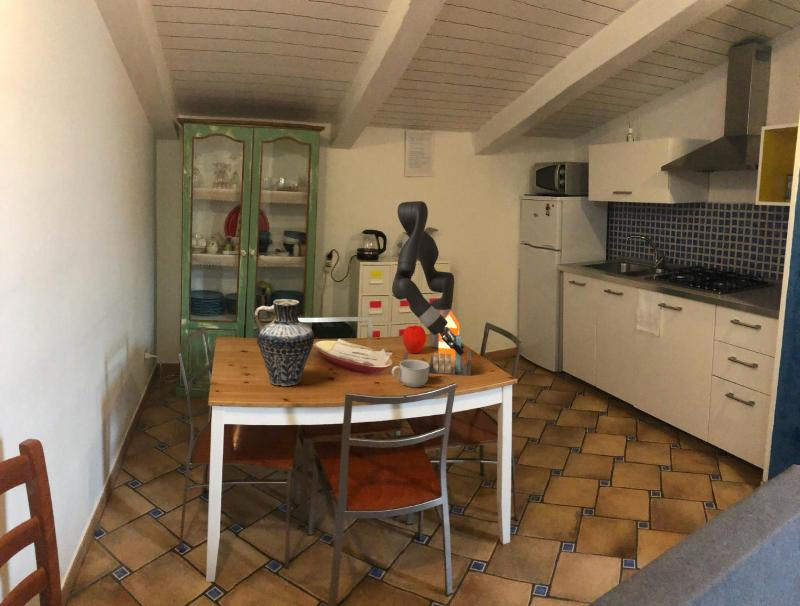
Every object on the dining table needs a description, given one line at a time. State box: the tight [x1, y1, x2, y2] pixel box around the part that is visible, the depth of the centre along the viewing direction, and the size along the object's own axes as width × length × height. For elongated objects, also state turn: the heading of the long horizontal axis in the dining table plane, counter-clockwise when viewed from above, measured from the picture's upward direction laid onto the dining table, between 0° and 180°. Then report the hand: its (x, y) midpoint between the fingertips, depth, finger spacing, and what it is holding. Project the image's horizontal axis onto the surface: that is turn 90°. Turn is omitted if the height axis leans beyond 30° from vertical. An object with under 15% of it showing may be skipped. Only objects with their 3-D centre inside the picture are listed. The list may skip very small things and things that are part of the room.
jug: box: [253, 298, 315, 387], centre depth 236 cm, size 21×19×30 cm
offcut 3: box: [445, 353, 452, 373], centre depth 258 cm, size 2×10×5 cm, turn 175°
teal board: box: [454, 334, 462, 372], centre depth 257 cm, size 2×6×13 cm, turn 175°
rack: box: [401, 350, 472, 377], centre depth 258 cm, size 26×14×7 cm, turn 85°
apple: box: [402, 324, 427, 354], centre depth 284 cm, size 10×10×12 cm
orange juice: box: [438, 311, 460, 362], centre depth 274 cm, size 8×9×20 cm
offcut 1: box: [433, 352, 439, 372], centre depth 258 cm, size 2×10×5 cm, turn 175°
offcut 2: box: [439, 353, 445, 373], centre depth 258 cm, size 2×10×5 cm, turn 175°
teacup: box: [391, 359, 429, 388], centre depth 240 cm, size 14×11×8 cm
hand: (462, 351), depth 257 cm, fingers open, 6 cm apart
